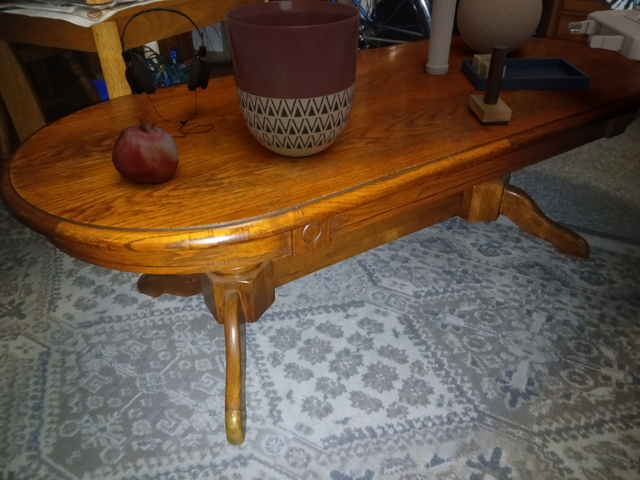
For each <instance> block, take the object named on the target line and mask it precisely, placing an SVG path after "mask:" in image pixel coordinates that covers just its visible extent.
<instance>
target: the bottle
mask: <svg viewBox="0 0 640 480" xmlns="http://www.w3.org/2000/svg"><path fill="white" fill-rule="evenodd" d="M456 7H457V0H432V5H431V17H430V31H429V32H430V33H429V41H428V53H427V54H428V56H427V62H426V63H425V64H426V65H425V70H426V73H427V74H428V75H431V76H442V75H446V74H448V71H449V63H448V62H449V56H450V49H451V43H452V37H453V36H452V35H453V29H454V23H455V21H454V20H455V13H456Z"/></svg>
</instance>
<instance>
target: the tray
mask: <svg viewBox="0 0 640 480" xmlns="http://www.w3.org/2000/svg"><path fill="white" fill-rule="evenodd" d="M472 64H473V58H462V61H461V68H460V70H461V71H462V72H463V74H464V76H465V77H466V78H467V79H468V81H469V82H470V83H471V84H472V86H473V87H474V88H475V89H476V91H477V92H479V91H480V92H481V91H484V92H485V88H486V82H487V78H482V77H481V76H480V75H479V74H478V73H477V71H476V70H475V69H474V68H473V67H472ZM505 66H506V68H505V74H504V78H502V82H501V88H500V91H554V90H555V91H556V90H557V91H558V90H559V91H560V90H589V87H590V85H591V81H592V76H590V75H588V74H587V73H586V72H584V71H583V70H582V69H580V68H578V67H577V66H576V65H574V64H573V63H571V62H570V61H568V60H567V59H566V58H564V57H515V58H512V57H511V58H509V57H508V58H507V57H506V61H505Z"/></svg>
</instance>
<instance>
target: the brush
mask: <svg viewBox="0 0 640 480" xmlns="http://www.w3.org/2000/svg"><path fill="white" fill-rule="evenodd" d="M507 50H508V47H507V46H504V45H494V46H493V47H492V52H491V58H490V64H489V70H488V76H487V82H486V88H485V91H484V94H470V95H469V100H468V106H469V109H468V110H469V111H470V112H471V113H472V114H473V115H474V117H475V118H476V119H477V120H478V121H479V123H480V124H481V125H482V126H483V127H484V126H508V125H509V122H511V118H512V112H513V110H512V109H511V108H510V106H508V105H507V104H506V103H505V102H504V100H502V99H501V98H500V92H501V90H500V88H501V82H502V77H503V71H504V66H505V61H506V59H507V55H508V54H507Z"/></svg>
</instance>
